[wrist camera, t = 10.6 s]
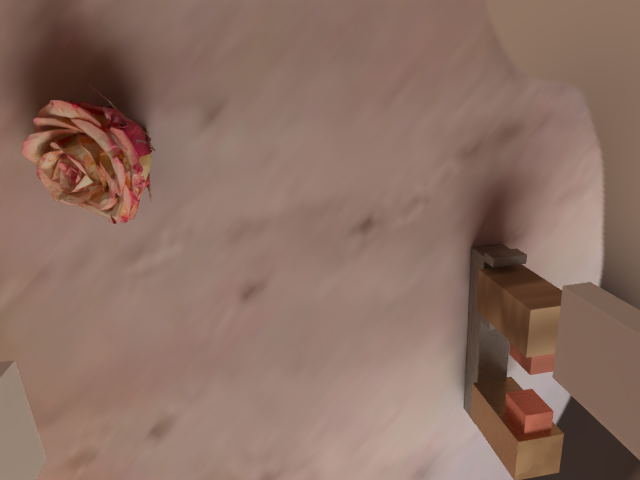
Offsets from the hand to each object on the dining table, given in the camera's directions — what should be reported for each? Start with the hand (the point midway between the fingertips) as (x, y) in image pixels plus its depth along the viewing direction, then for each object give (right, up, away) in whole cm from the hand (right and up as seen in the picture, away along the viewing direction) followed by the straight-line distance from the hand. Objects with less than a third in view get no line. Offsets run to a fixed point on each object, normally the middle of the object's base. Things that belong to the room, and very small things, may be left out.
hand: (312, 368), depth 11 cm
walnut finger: (+16, -1, +31) cm, 35 cm away
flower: (-16, +10, +25) cm, 31 cm away
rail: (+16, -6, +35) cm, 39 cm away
